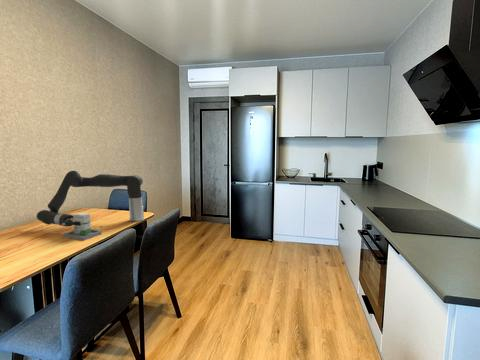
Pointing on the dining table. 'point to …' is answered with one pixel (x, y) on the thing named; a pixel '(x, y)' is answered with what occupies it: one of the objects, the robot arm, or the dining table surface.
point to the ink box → (82, 223)
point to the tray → (82, 235)
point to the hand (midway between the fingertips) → (84, 222)
